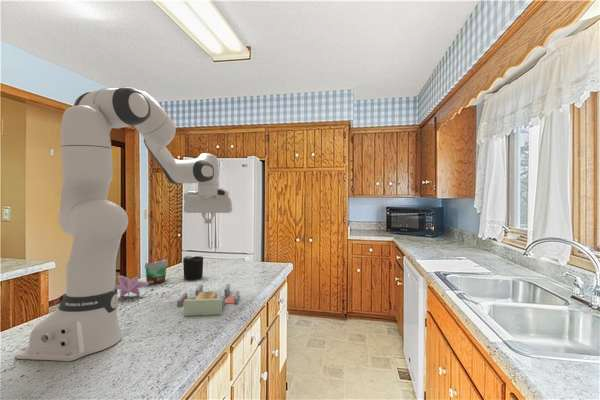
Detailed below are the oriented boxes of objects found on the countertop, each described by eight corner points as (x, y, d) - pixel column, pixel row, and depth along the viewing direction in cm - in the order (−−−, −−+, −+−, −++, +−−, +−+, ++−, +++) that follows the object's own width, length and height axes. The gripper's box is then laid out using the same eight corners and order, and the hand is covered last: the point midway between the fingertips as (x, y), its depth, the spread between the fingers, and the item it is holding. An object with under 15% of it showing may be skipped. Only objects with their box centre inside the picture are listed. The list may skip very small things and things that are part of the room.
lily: (153, 298, 120) (152, 275, 124) (133, 296, 110) (133, 270, 114) (125, 307, 121) (125, 283, 125) (103, 305, 110) (104, 279, 114)
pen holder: (186, 275, 153) (187, 256, 153) (205, 275, 153) (205, 256, 153) (180, 280, 143) (180, 259, 143) (200, 280, 144) (200, 259, 144)
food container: (156, 286, 134) (156, 264, 134) (144, 285, 135) (144, 263, 135) (173, 279, 146) (173, 258, 146) (162, 278, 147) (162, 258, 147)
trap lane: (169, 316, 100) (169, 301, 100) (188, 292, 126) (188, 280, 126) (235, 313, 103) (235, 299, 103) (240, 290, 128) (240, 278, 128)
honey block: (194, 313, 103) (194, 298, 103) (200, 305, 111) (200, 291, 111) (212, 312, 104) (212, 298, 104) (216, 304, 112) (216, 291, 112)
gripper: (181, 191, 126) (181, 224, 126) (231, 191, 128) (231, 223, 128) (185, 191, 132) (185, 222, 132) (232, 191, 134) (232, 222, 134)
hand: (208, 223), depth 130 cm, fingers closed
